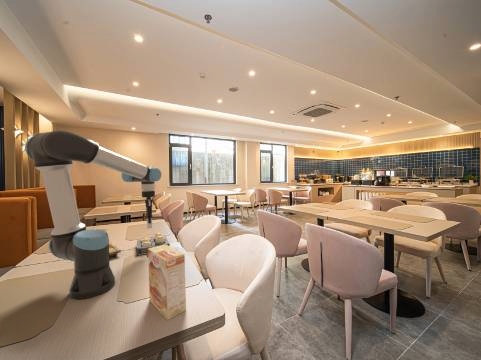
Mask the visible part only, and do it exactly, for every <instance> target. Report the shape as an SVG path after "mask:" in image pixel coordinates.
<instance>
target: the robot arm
mask: <svg viewBox="0 0 481 360" xmlns="http://www.w3.org/2000/svg"><path fill="white" fill-rule="evenodd" d="M24 151H25V154H26V156H28V158H30V159H31V160H33V165H34V168H35V169H37V170H38V171H40V172H41V175H42V180H43V184H44V188H45V189H44V190H45V194H46V197H47V201H48V205H49V209H50V213H51V215H50V216H51V218H52V223H53V227H54V228H53V229H52V231H51V232H50V236H51V239H50V240H49V242H48V250H49V252H50V253H51V255H52V256H54V257H56V258H58V259H62V260H67V261H71V262H73V263H74V264H73V266H74V268H73V269H74V275H73V278H72V281H71V284H70V287H69V298H71V299H73V300H84V299H89V298H93V297H96V296H100V295H102V294H103V293H106V292H107V291H109V290H111V289H112V288H113V287H114V286H115V283H116V277H115V274H114V273H113V270H112V269H111V265H110V257H109V243H110V239H109V237H110V236H109V233H108V232H107V231H105V230H103V229H95V228H94V229H92V228H91V229H87V226H86V224H85V223H83V222H81V219H80V214H79V210H78V205H77V201H76V195H75V190H74V186H73V181H72V176H71V172H70V170H71V168H72V166H74V165H73V161H74V162H78V163H79V162H80V163H84V164H86V165H89V164H91V163H92V164H95V165H98V166H101V167H102V168H107V169H110V170H113V171H116V172H119V173H121V179H122V181H123V182H125V183H137V182H138V183H139V182H140V183H141V185H140V186H141V197H142V198H145V199H144V203H145V208H146V209H145V210H146V214H145V216H146V217H145V219H146V224H147V225H146V229H148V230H149V229H152V228H153V199H152V198H154V197H156V191H155V190H156V187H157V185H156V184H155V182H159V181H160V180H161V177H162V171H161V170H160V169H159V168H157V167H154V166H153V165H145V164H142V163H139V162H137V161H135V160H133V159H131V158H128V157H125V156H123V155H120V154H118V153H115V152H113V151H111V150H108V149H107V148H104V147H102V146H100V145H99V143H98V142H96V141H94V140H91V139H89V138H87V137H84V136H82V135H79V134H78V133H77V134H76V133H73V132H71V131H67V130H60V129H59V130H53V131H47V132H40V133H37V134H35V135H32V136H31V137H30V138H28V139H27V141H26V142H25V144H24Z"/></svg>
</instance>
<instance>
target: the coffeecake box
mask: <svg viewBox="0 0 481 360" xmlns="http://www.w3.org/2000/svg"><path fill="white" fill-rule="evenodd" d="M147 258H148V259H147V260H148V281H149V283H148V284H149V285H148V286H149V293H148V294H149V302H150V303H151V304H152V305H153V306H154V308H156V310H158V312H159V313H160V314H161V315H162V316H163V318H165V319H166V320H167V321H169V320H170V319H172V318H174V317H176V316H177V315H179V314H182V313H184V312H185V311H187V296H186V295H187V294H186V270H185V269H186V261H185V253H183V252H182V251H179V250H178V249H176V248H174V247H172V246H168V245H166V244H164V245H160V246H156V247H152V248H149V249H148V255H147Z"/></svg>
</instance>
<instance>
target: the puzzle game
mask: <svg viewBox="0 0 481 360" xmlns="http://www.w3.org/2000/svg"><path fill="white" fill-rule="evenodd" d="M121 252H122V250H121V249H120V248H119V247H117V246H116V245H114V244H113V243H111V242H109V258H111V257H115V256H117V255H119V254H121Z"/></svg>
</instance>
